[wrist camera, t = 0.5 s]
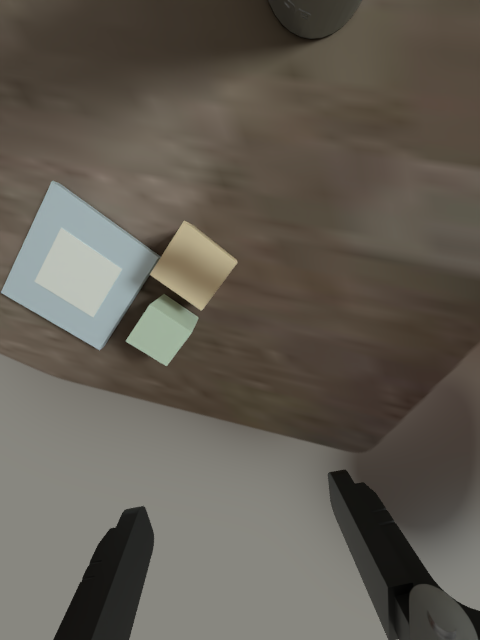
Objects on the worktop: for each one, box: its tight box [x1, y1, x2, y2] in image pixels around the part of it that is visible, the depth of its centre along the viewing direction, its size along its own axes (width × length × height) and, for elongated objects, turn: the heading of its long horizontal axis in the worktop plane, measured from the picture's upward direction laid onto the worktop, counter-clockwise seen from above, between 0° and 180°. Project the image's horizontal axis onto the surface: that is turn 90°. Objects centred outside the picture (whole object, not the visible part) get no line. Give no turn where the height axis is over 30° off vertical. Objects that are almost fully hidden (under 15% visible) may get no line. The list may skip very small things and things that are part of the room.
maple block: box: [150, 221, 237, 311], centre depth 24 cm, size 6×6×5 cm
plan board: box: [1, 181, 161, 350], centre depth 26 cm, size 14×12×1 cm
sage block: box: [126, 294, 199, 366], centre depth 26 cm, size 5×5×5 cm
